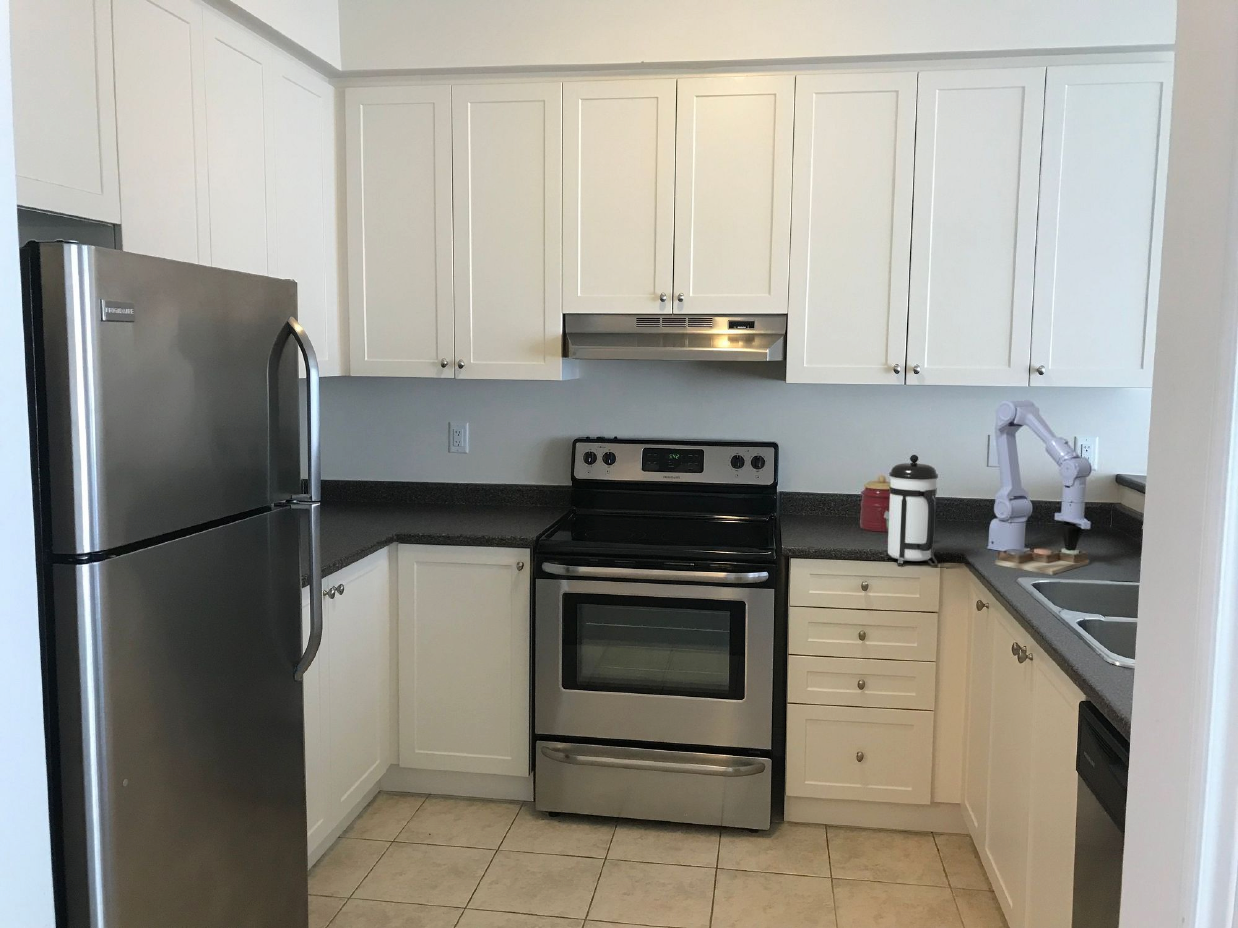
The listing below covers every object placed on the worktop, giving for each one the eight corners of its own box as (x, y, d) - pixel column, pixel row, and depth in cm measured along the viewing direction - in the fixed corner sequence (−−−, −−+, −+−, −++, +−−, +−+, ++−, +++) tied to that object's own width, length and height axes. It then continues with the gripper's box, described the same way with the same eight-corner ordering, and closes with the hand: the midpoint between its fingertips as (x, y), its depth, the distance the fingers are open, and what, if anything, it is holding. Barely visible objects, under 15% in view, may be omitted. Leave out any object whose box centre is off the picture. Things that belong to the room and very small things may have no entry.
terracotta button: (1030, 559, 267) (1031, 549, 267) (1038, 557, 270) (1039, 547, 269) (1046, 561, 263) (1046, 552, 263) (1053, 559, 266) (1054, 550, 266)
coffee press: (870, 562, 267) (874, 454, 263) (896, 554, 279) (901, 450, 275) (930, 572, 255) (935, 460, 252) (955, 563, 267) (960, 455, 264)
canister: (893, 525, 325) (895, 473, 323) (905, 532, 312) (907, 478, 310) (855, 524, 325) (857, 472, 323) (865, 532, 312) (867, 478, 310)
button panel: (995, 564, 266) (995, 552, 266) (1032, 554, 279) (1033, 542, 279) (1052, 574, 254) (1052, 562, 254) (1088, 563, 267) (1089, 551, 267)
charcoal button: (1003, 559, 266) (1003, 550, 266) (1011, 557, 269) (1011, 548, 269) (1018, 562, 263) (1018, 552, 262) (1026, 560, 266) (1026, 550, 265)
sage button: (1058, 558, 268) (1058, 549, 267) (1065, 556, 270) (1066, 547, 270) (1073, 561, 264) (1074, 552, 264) (1081, 559, 267) (1081, 550, 267)
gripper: (1045, 497, 272) (1042, 545, 274) (1073, 505, 258) (1070, 555, 259) (1069, 497, 273) (1066, 544, 274) (1099, 505, 258) (1095, 555, 260)
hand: (1070, 550), depth 267 cm, fingers closed, pressing on sage button
